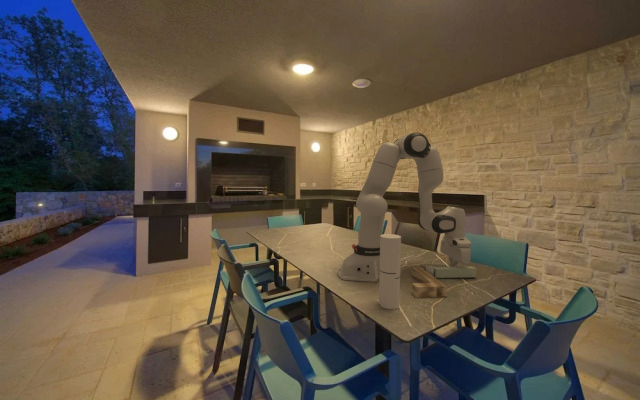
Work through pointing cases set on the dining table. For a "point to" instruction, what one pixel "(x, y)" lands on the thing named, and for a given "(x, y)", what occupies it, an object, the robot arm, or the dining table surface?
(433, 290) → the l-shaped wooden joint
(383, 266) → the cylindrical container
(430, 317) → the dining table surface
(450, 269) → the folding leg
